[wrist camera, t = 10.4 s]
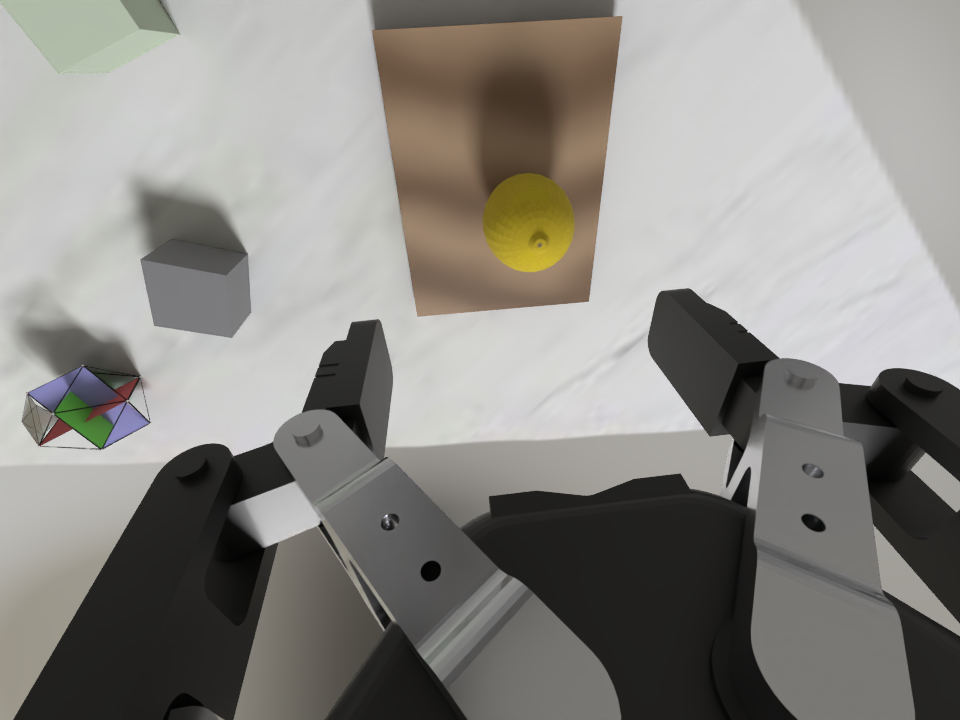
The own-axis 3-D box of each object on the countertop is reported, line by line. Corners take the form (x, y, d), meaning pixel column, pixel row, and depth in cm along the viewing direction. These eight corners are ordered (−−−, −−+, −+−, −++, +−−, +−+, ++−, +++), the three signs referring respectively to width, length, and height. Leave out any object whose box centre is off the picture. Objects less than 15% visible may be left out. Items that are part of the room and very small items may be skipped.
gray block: (172, 238, 30) (140, 259, 26) (248, 253, 31) (226, 275, 27) (182, 299, 32) (154, 325, 29) (251, 311, 33) (231, 337, 30)
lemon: (527, 143, 26) (556, 167, 20) (571, 211, 29) (608, 252, 23) (461, 199, 28) (468, 239, 22) (508, 259, 31) (527, 309, 24)
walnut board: (375, 32, 24) (372, 30, 23) (613, 18, 24) (622, 16, 23) (418, 307, 34) (417, 316, 33) (583, 293, 35) (588, 301, 34)
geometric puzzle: (120, 349, 32) (-2, 426, 27) (185, 410, 36) (89, 486, 31) (96, 342, 36) (-13, 407, 31) (157, 397, 40) (68, 463, 35)
